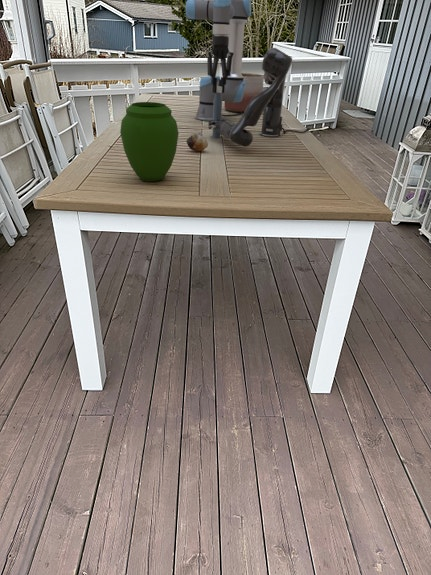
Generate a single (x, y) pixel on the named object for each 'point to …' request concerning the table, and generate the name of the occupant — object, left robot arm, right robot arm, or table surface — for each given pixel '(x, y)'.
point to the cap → (219, 89)
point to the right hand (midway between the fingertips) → (215, 122)
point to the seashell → (197, 142)
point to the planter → (247, 92)
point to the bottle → (217, 113)
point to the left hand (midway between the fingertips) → (218, 92)
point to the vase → (149, 139)
